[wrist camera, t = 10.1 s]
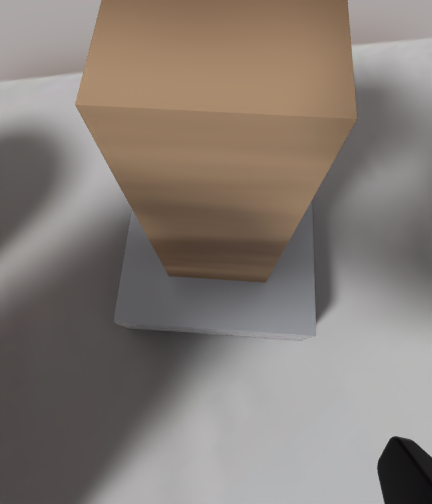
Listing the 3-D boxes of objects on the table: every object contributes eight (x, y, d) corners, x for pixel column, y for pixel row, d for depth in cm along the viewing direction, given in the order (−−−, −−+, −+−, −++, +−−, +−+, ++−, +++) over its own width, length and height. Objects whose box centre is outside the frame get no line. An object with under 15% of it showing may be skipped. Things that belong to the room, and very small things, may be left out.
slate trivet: (301, 340, 19) (316, 335, 16) (128, 328, 19) (112, 321, 17) (299, 186, 22) (311, 160, 20) (150, 178, 23) (141, 151, 20)
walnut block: (265, 282, 17) (357, 119, 6) (168, 276, 17) (75, 105, 6) (267, 195, 19) (342, -65, 7) (178, 190, 19) (120, -72, 8)
